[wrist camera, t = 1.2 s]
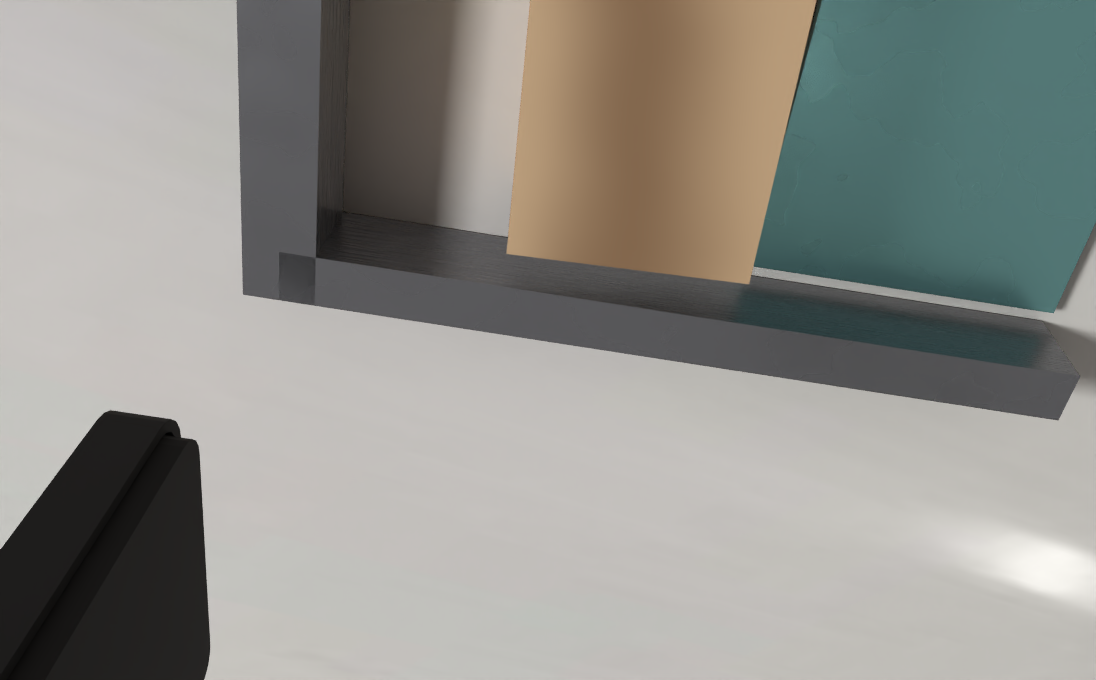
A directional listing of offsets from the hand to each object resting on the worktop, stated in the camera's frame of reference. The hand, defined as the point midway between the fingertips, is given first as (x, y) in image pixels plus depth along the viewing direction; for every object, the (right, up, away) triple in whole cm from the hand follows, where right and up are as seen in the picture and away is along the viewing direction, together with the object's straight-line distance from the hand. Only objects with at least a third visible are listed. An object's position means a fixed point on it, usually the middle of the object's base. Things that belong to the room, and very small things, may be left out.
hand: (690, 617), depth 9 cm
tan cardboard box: (+1, +11, +18) cm, 21 cm away
